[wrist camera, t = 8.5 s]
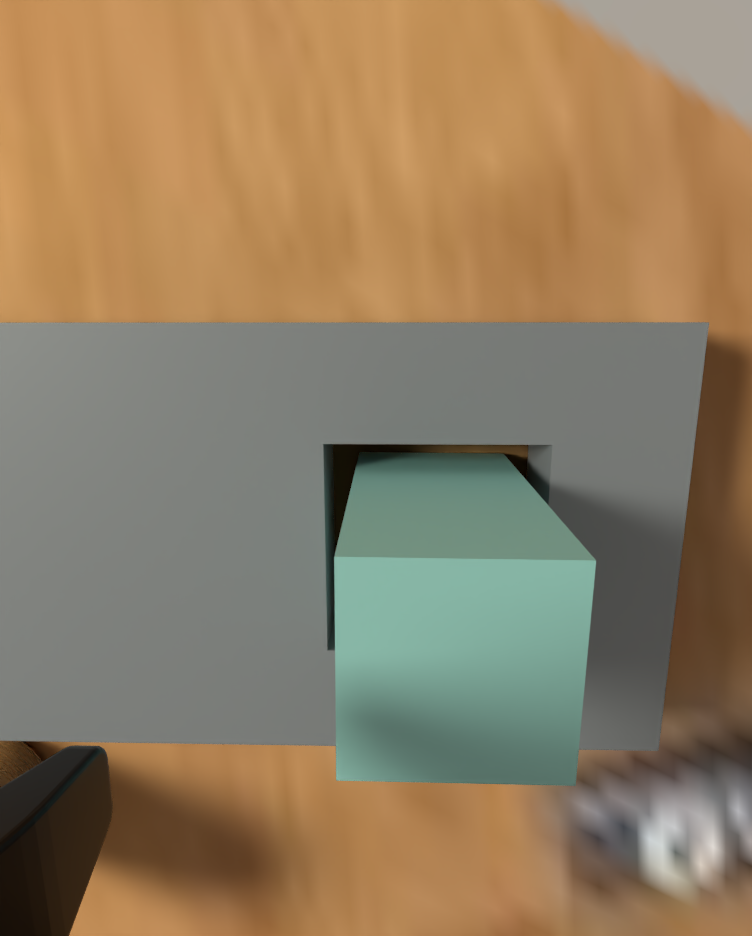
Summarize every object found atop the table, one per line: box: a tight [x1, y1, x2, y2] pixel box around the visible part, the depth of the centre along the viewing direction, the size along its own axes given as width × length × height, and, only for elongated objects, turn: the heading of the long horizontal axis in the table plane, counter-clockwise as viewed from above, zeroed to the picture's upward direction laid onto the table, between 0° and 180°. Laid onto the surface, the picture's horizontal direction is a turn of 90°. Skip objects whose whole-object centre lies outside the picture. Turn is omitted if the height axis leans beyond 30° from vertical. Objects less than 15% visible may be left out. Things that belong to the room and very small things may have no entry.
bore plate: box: [0, 323, 709, 751], centre depth 17 cm, size 11×20×2 cm, turn 90°
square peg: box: [334, 452, 596, 786], centre depth 14 cm, size 4×4×8 cm
